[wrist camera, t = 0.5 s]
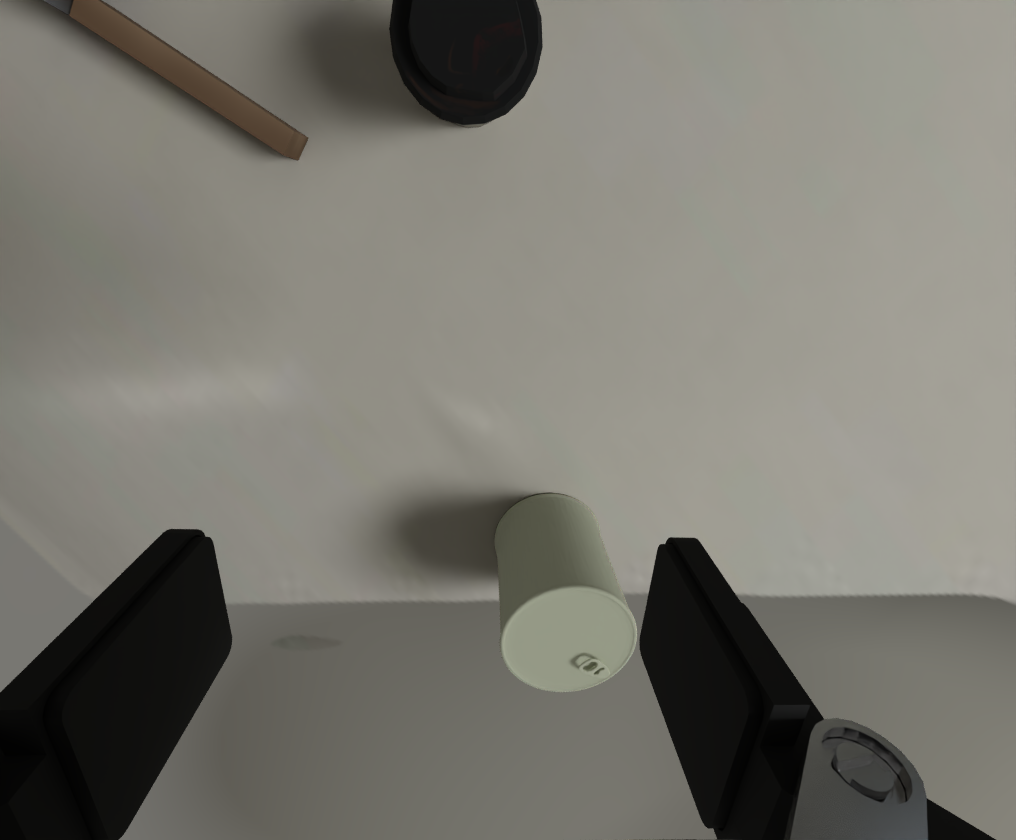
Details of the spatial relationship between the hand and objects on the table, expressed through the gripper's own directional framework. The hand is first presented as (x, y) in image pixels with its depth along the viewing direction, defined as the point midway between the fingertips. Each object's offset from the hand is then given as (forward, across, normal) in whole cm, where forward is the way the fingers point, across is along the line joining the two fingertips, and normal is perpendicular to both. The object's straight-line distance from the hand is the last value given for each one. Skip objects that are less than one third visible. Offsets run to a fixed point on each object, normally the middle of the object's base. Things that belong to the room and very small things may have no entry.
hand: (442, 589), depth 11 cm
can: (+28, -7, +18) cm, 34 cm away
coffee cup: (+28, 0, -15) cm, 32 cm away
